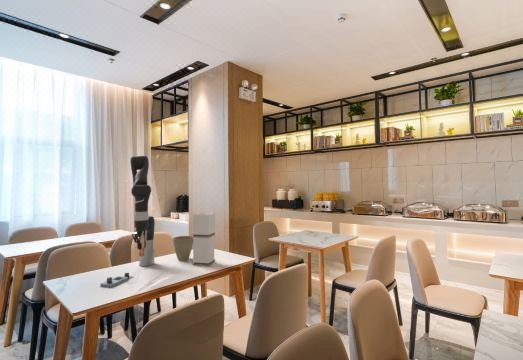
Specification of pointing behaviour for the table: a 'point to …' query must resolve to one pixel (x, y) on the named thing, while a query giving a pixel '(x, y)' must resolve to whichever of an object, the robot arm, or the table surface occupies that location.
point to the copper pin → (141, 252)
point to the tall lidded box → (203, 239)
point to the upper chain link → (113, 281)
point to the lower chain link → (127, 276)
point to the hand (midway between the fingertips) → (141, 248)
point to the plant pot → (183, 247)
